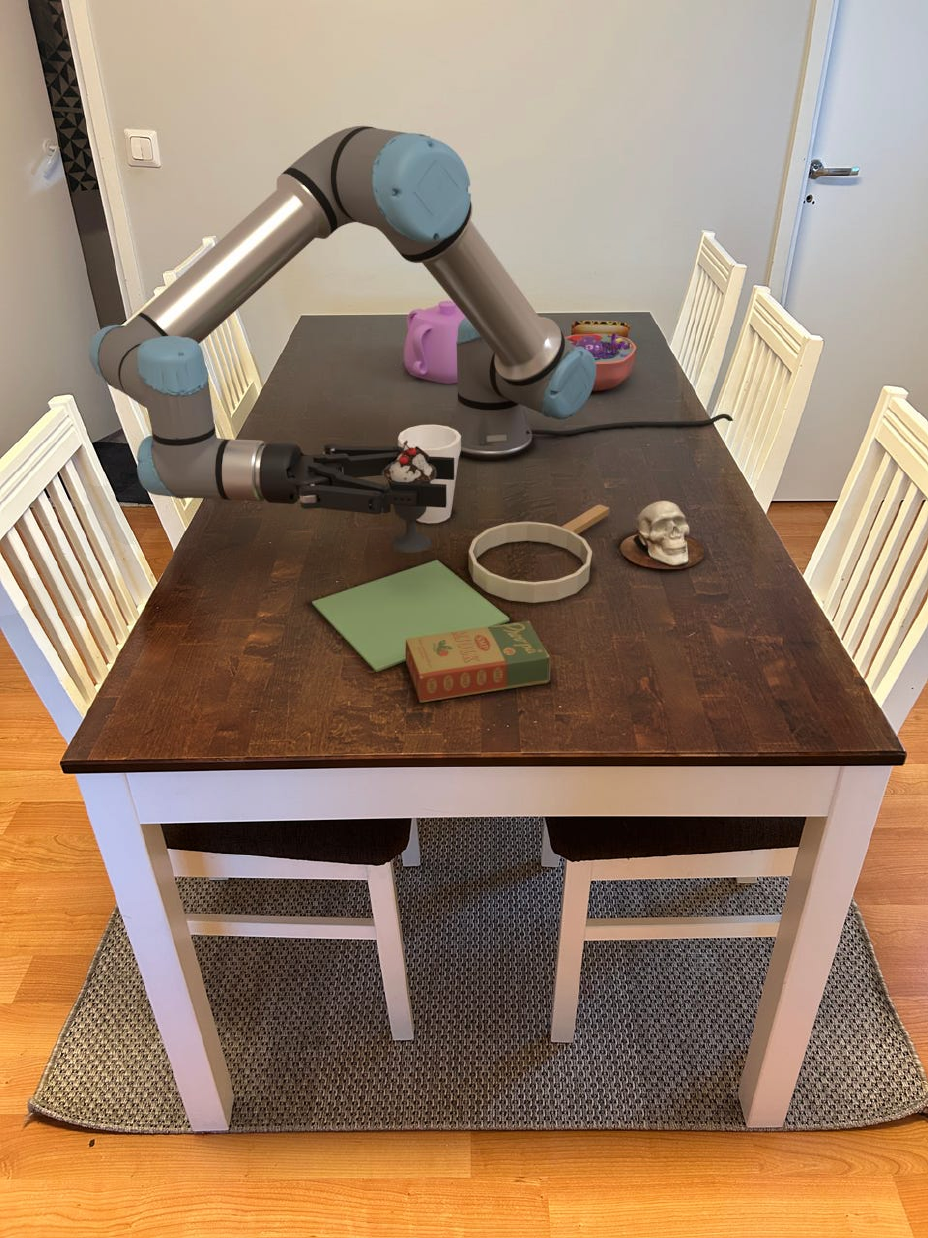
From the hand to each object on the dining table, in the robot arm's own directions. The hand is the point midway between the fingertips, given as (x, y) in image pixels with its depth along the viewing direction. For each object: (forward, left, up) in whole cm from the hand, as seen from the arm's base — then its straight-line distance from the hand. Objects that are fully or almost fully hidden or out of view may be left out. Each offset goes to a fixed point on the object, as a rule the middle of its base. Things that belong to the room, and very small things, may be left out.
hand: (449, 482), depth 113 cm
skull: (-34, +4, -19) cm, 40 cm away
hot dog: (-88, -74, -19) cm, 117 cm away
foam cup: (-12, -25, -19) cm, 34 cm away
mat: (+5, -3, -19) cm, 20 cm away
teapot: (-50, -77, -19) cm, 94 cm away
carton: (+4, +13, -19) cm, 24 cm away
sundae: (+4, -3, -9) cm, 10 cm away
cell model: (-69, -54, -19) cm, 90 cm away
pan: (-20, -3, -19) cm, 28 cm away
